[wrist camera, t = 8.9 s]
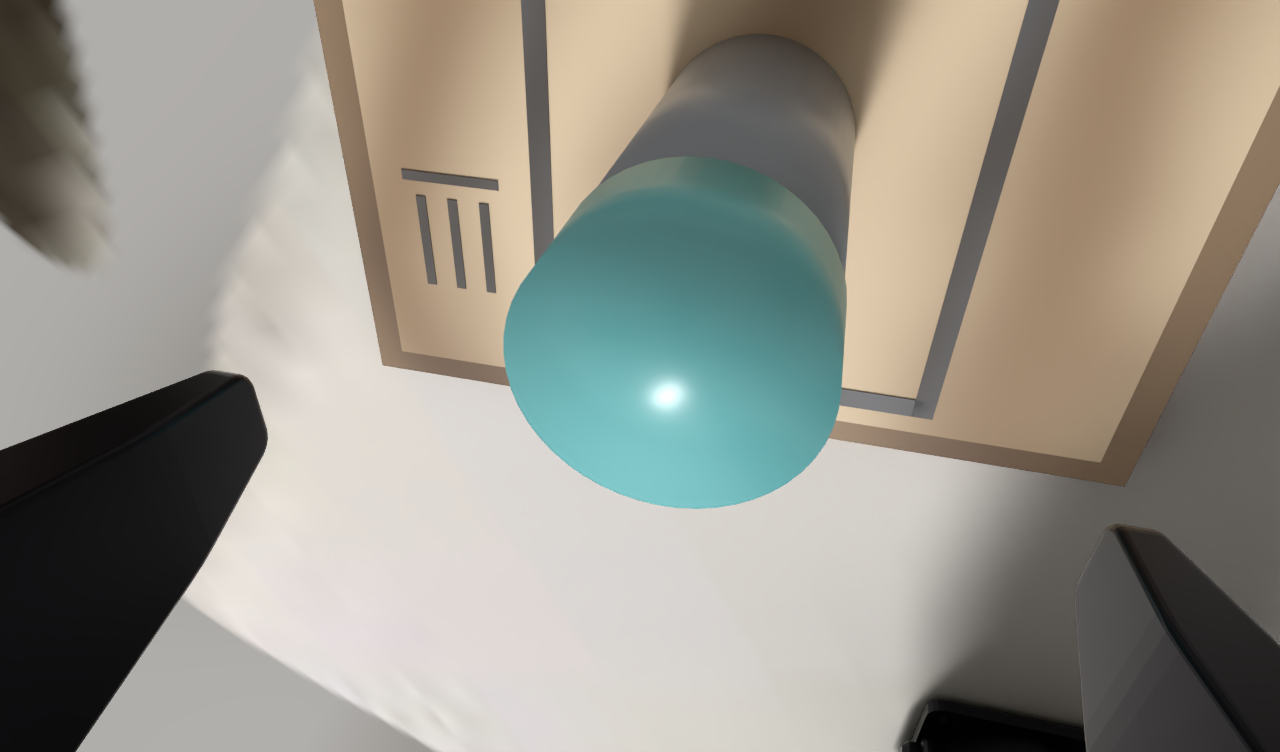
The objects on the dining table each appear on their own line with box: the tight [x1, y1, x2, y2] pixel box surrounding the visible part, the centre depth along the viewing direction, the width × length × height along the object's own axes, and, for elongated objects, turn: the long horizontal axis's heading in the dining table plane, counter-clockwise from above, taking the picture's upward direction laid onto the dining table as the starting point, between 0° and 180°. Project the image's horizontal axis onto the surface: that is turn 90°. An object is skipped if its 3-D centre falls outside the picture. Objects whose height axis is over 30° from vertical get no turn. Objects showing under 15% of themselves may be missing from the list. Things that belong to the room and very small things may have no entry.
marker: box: [503, 34, 855, 509], centre depth 13 cm, size 4×4×9 cm
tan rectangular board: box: [314, 0, 1280, 487], centre depth 17 cm, size 20×16×2 cm
